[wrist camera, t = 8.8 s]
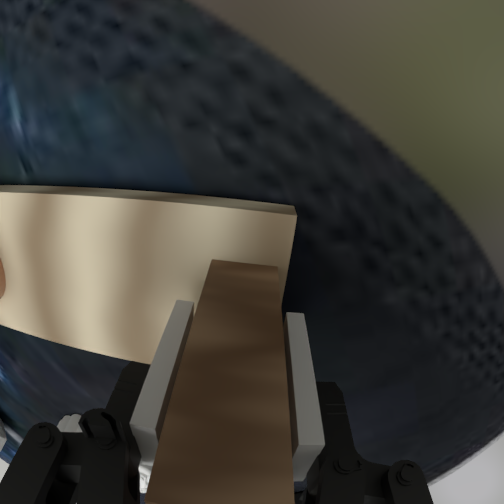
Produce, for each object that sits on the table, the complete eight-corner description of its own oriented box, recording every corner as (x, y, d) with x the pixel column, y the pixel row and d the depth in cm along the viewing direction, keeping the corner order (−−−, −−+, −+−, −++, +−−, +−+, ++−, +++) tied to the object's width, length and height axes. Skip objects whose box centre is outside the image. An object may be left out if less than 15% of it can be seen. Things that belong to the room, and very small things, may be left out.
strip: (293, 205, 15) (365, 465, 4) (266, 362, 19) (265, 560, 8) (-61, 185, 14) (-174, 254, 3) (-36, 297, 19) (-117, 385, 7)
